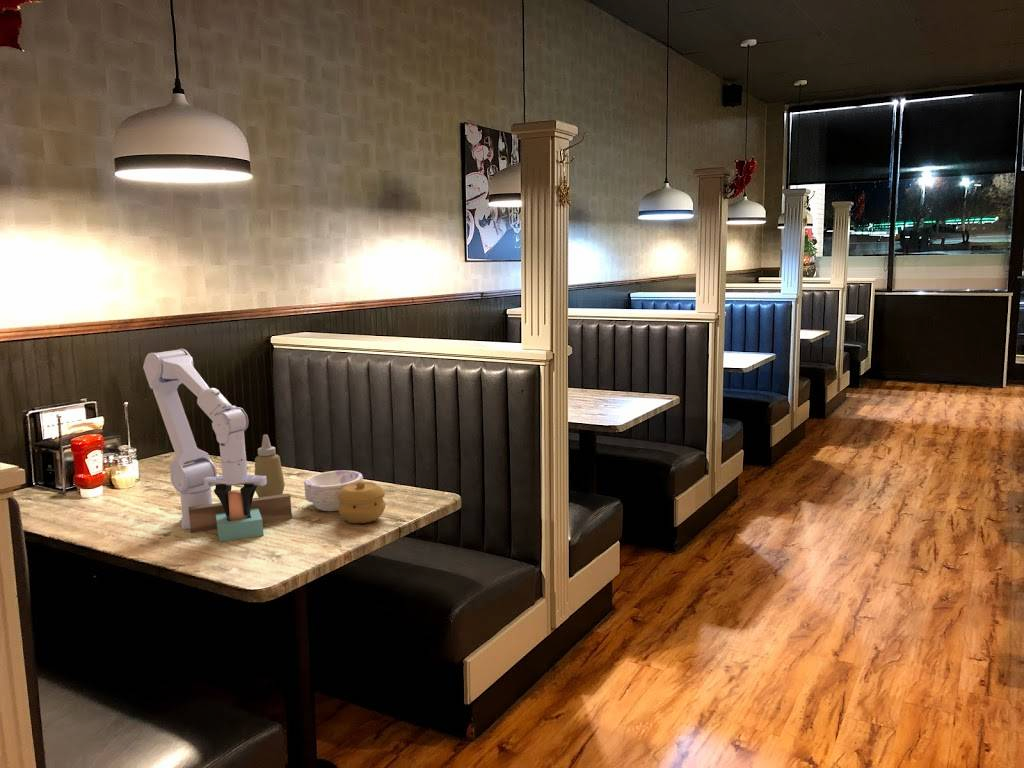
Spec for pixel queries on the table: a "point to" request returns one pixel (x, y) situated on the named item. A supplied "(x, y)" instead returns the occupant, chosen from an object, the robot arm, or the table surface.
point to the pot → (361, 502)
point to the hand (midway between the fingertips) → (238, 514)
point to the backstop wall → (268, 508)
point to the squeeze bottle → (269, 470)
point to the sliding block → (239, 526)
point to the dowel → (236, 505)
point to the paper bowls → (329, 488)
